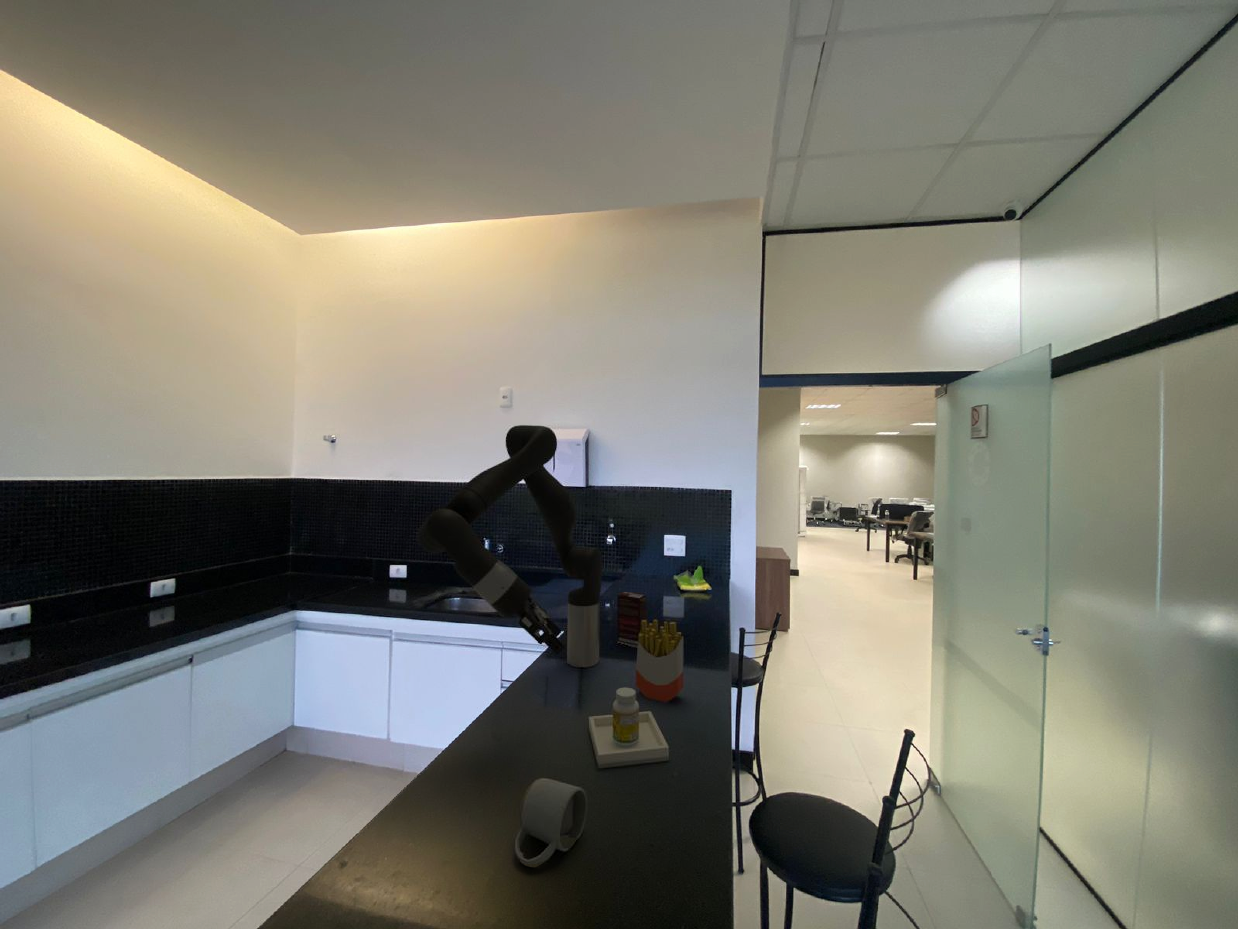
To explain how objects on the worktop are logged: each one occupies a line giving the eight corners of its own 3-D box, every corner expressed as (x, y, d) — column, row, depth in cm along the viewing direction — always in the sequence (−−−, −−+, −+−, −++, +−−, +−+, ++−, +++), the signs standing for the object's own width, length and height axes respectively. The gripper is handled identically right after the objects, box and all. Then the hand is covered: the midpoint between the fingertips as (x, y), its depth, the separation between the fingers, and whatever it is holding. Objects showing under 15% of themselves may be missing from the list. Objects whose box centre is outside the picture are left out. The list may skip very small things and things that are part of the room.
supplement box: (647, 644, 148) (647, 594, 148) (639, 649, 144) (640, 598, 144) (624, 639, 153) (624, 591, 153) (616, 643, 149) (616, 594, 149)
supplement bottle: (639, 747, 91) (639, 698, 91) (612, 747, 91) (612, 698, 91) (638, 732, 97) (638, 686, 97) (612, 731, 97) (613, 685, 97)
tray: (589, 728, 99) (589, 717, 99) (650, 722, 102) (650, 711, 102) (598, 768, 86) (598, 755, 86) (668, 760, 88) (668, 747, 89)
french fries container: (677, 705, 109) (678, 629, 110) (635, 696, 114) (635, 622, 114) (683, 697, 114) (683, 623, 114) (641, 688, 118) (642, 617, 118)
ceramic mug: (545, 810, 75) (545, 762, 75) (588, 828, 72) (588, 778, 72) (500, 859, 66) (500, 805, 66) (547, 883, 62) (547, 826, 62)
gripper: (515, 583, 85) (577, 641, 88) (516, 567, 99) (569, 617, 102) (485, 613, 84) (548, 671, 87) (490, 593, 98) (545, 643, 100)
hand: (559, 642), depth 94 cm, fingers open, 8 cm apart
